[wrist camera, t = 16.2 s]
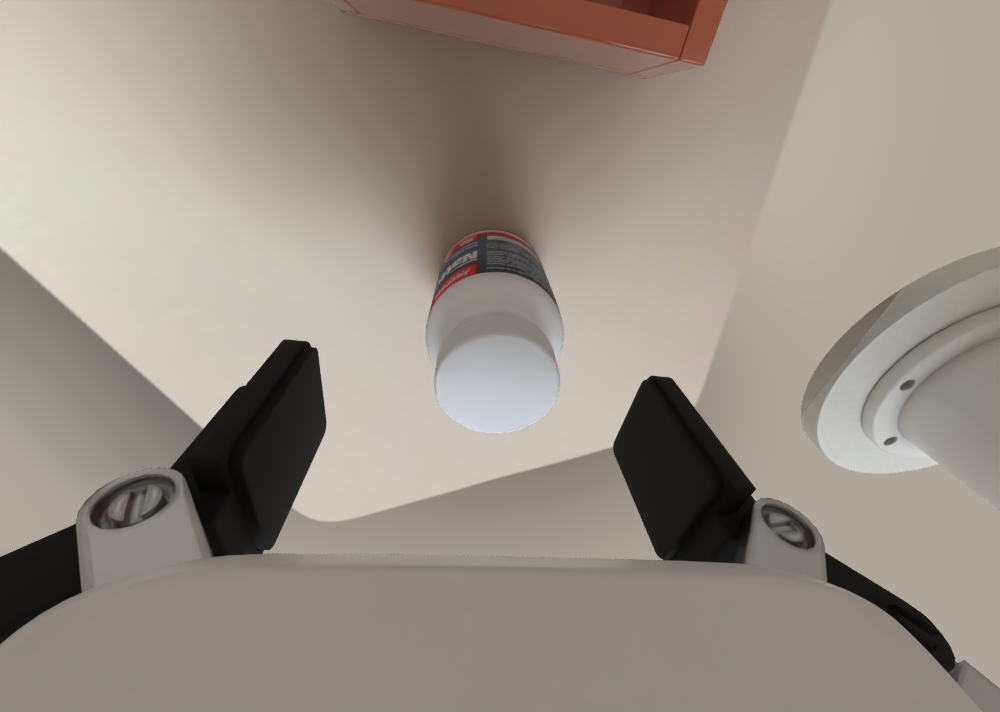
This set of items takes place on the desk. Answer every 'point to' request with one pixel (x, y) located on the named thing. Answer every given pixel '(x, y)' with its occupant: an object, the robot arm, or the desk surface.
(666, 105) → the desk surface
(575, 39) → the terracotta bin
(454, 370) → the pill bottle
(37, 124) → the desk surface
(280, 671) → the robot arm
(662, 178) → the desk surface
